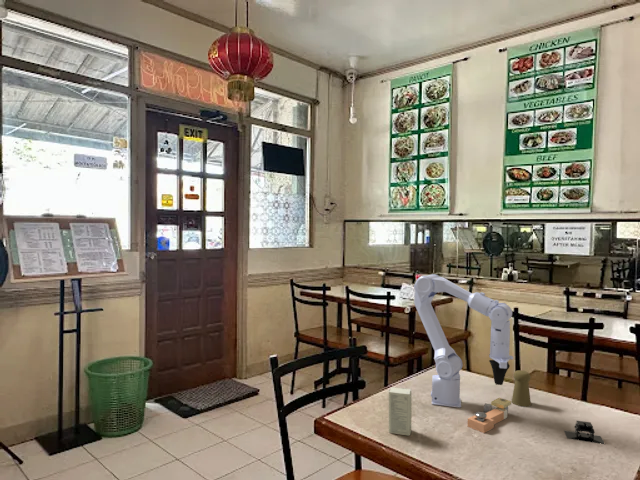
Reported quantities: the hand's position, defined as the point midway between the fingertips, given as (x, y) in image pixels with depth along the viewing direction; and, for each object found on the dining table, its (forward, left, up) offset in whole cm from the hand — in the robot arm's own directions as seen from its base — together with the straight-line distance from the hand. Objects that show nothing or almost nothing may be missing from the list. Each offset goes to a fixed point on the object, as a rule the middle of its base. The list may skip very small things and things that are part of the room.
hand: (498, 384), depth 142 cm
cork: (+9, +12, -10) cm, 18 cm away
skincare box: (-29, -22, -10) cm, 38 cm away
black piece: (+22, -9, -11) cm, 26 cm away
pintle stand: (-2, -5, -10) cm, 11 cm away
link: (-3, -7, -10) cm, 13 cm away
